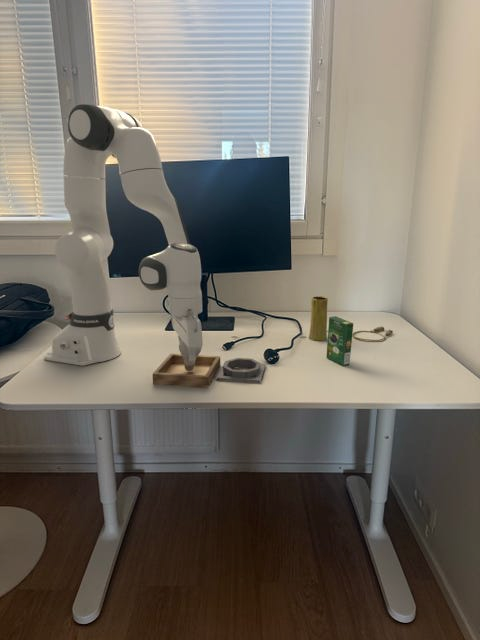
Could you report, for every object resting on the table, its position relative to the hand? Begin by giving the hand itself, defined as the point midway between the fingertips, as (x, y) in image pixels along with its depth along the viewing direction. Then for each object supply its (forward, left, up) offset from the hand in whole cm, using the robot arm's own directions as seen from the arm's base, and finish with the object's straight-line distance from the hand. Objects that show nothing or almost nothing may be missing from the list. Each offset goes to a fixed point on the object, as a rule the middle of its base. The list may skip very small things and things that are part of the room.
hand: (187, 354), depth 121 cm
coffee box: (+42, +16, -6) cm, 45 cm away
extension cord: (+55, +43, -7) cm, 70 cm away
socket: (+15, +3, -6) cm, 16 cm away
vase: (+36, +37, -6) cm, 52 cm away
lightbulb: (0, +1, -5) cm, 5 cm away
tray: (0, 0, -6) cm, 6 cm away
